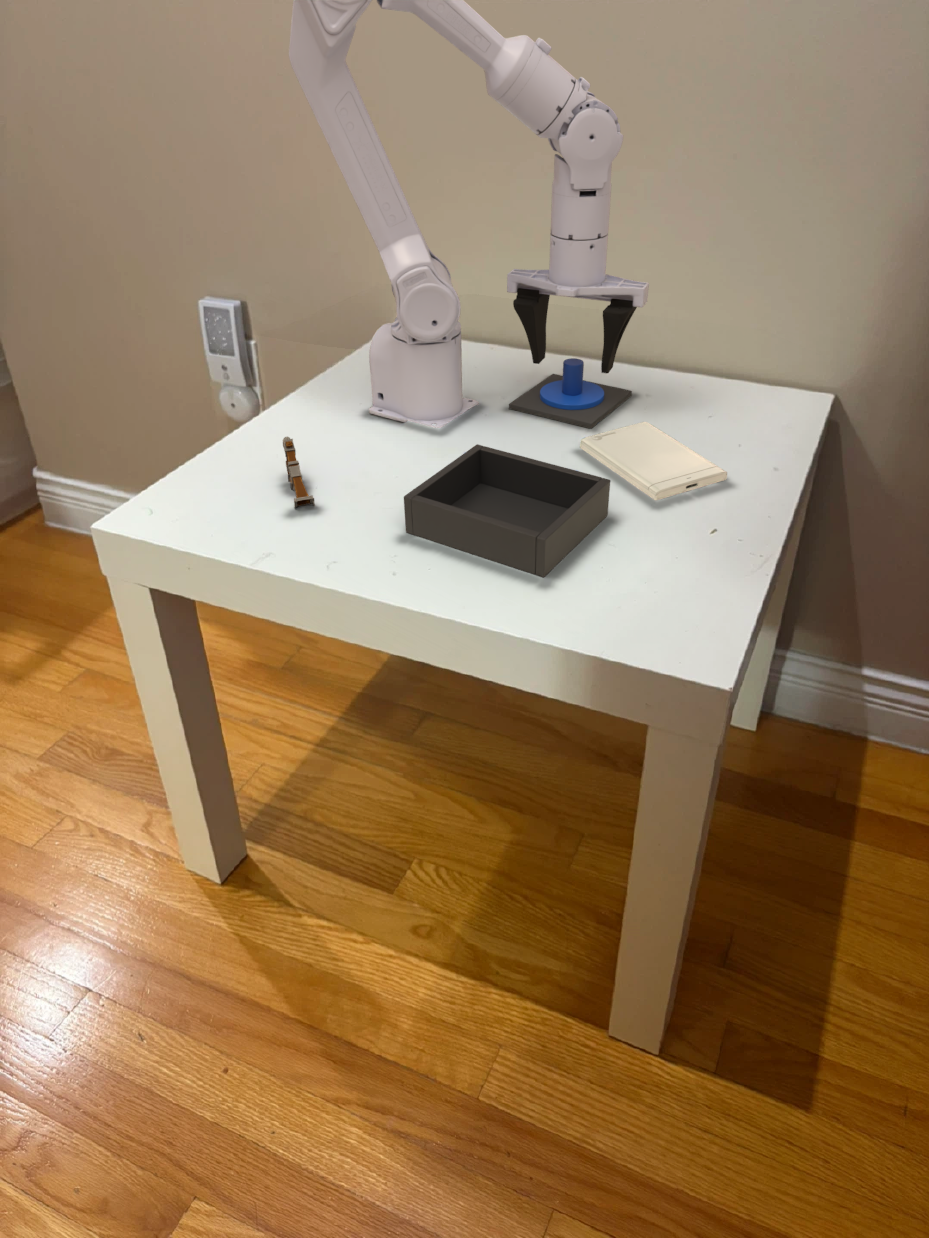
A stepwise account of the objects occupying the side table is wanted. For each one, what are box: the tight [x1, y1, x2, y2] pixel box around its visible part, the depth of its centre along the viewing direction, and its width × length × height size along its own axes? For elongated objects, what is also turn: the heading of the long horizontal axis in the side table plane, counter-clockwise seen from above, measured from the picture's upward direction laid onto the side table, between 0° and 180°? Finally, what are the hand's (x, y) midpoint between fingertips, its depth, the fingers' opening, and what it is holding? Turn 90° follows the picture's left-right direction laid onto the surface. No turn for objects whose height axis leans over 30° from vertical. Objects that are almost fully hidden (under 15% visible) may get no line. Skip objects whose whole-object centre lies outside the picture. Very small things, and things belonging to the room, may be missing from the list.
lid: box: [540, 357, 604, 410], centre depth 104 cm, size 7×7×4 cm
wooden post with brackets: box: [282, 436, 316, 508], centre depth 89 cm, size 2×8×4 cm, turn 18°
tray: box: [403, 443, 611, 579], centre depth 83 cm, size 14×12×4 cm
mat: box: [508, 373, 633, 429], centre depth 105 cm, size 10×10×1 cm
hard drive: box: [579, 421, 728, 501], centre depth 92 cm, size 2×8×12 cm
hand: (572, 365), depth 103 cm, fingers open, 7 cm apart
